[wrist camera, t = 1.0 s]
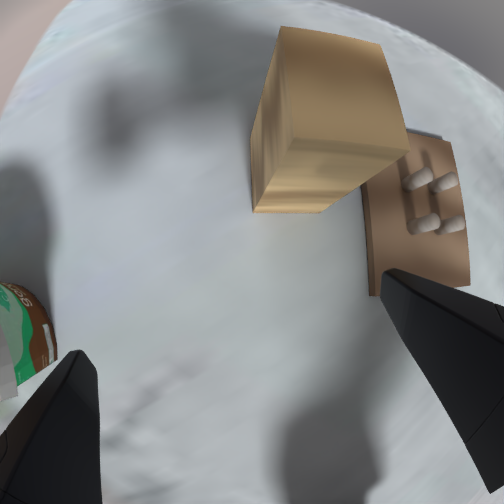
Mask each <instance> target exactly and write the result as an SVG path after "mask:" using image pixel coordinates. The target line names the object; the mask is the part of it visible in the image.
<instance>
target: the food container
mask: <svg viewBox="0 0 504 504" xmlns="http://www.w3.org/2000/svg"><path fill="white" fill-rule="evenodd" d="M56 360H57V343H56V339H55V335H54V331H53V326H52V324H51V322H50V320H49V317H48V315H47V313H46V311H45V309H44V307H43V306H42V305H41V303H40V302H39V301H38V300H37V298H36V297H35V296H34V295H33V294H32V293H31V292H29V291H28V290H27V289H25V288H24V287H21V286H19V285H15V284H10V283H4V282H0V401H3V400H7V399H10V398H13V397H16V396H18V391H17V386H19V385H20V384H22V383H23V382H25V381H26V380H28V379H29V378H31V377H32V376H34V375H35V374H37V373H38V372H40V371H41V370H43V369H44V368H46V367H47V366H49V365H50V364H52V363H53V362H55V361H56Z"/></svg>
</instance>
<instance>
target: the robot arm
mask: <svg viewBox="0 0 504 504" xmlns="http://www.w3.org/2000/svg"><path fill="white" fill-rule="evenodd" d="M380 298H381V301H382V303H383V305H384V306H385V308H386V310H387V312H388V314H389V316H390V318H391V320H392V322H393V324H394V325H395V327H396V329H397V331H398V333H399V335H400V337H401V339H402V340H403V342H404V344H405V345H406V347H407V348H408V350H409V351H410V353H411V355H412V356H413V358H414V359H415V361H416V362H417V364H418V366H419V367H420V369H421V370H422V372H423V373H424V375H425V377H426V378H427V380H428V382H429V383H430V385H431V386H432V388H433V390H434V391H435V393H436V395H437V396H438V398H439V400H440V401H441V403H442V405H443V407H444V408H445V410H446V412H447V413H448V415H449V417H450V419H451V420H452V422H453V424H454V426H455V428H456V429H457V431H458V433H459V435H460V437H461V438H462V440H463V442H464V444H465V446H466V448H467V450H468V452H469V454H470V456H471V458H472V459H473V461H474V463H475V465H476V467H477V469H478V471H479V473H480V475H481V477H482V479H483V481H484V483H485V486H486V488H487V490H488V491H489V493H490V494H491V493H493V492H494V491H496V490H497V489H499V488H500V487H502V486H503V485H504V306H501V305H498V304H494V303H493V302H490V301H488V300H485V299H482V298H479V297H477V296H474V295H471V294H469V293H466V292H463V291H460V290H457V289H455V288H452V287H449V286H446V285H444V284H441V283H438V282H435V281H432V280H429V279H426V278H424V277H421V276H418V275H415V274H412V273H409V272H406V271H403V270H400V269H398V268H391V269H388V270H385V271H383V273H382V275H381V286H380ZM0 504H102V492H101V475H100V413H99V398H98V377H97V371H96V368H95V367H94V365H93V364H92V362H91V361H90V360H89V358H88V357H87V355H86V354H85V353H84V351H82V350H74V351H70V352H69V353H68V354H67V355H66V356H65V357H64V358H63V360H62V361H61V362H60V363H59V364H58V365H57V366H56V368H55V369H54V370H53V371H52V372H51V373H50V375H49V376H48V377H47V378H46V379H45V381H44V382H43V383H42V384H41V385H40V387H39V388H38V389H37V390H36V391H35V393H34V394H33V395H32V396H31V397H30V399H29V400H28V401H27V402H26V404H25V405H24V406H23V407H22V409H21V410H20V411H19V412H18V414H17V415H16V416H15V418H14V419H13V420H12V421H11V423H10V424H9V425H8V427H7V428H6V430H4V432H3V433H2V434H1V436H0Z"/></svg>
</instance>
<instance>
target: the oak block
mask: <svg viewBox="0 0 504 504" xmlns="http://www.w3.org/2000/svg"><path fill="white" fill-rule="evenodd" d="M250 147H251V176H252V204H253V213H320V212H322V211H323V210H325V209H326V208H328V207H329V206H331V205H332V204H333V203H335V202H336V201H338V200H339V199H341V198H342V197H344V196H345V195H347V194H348V193H350V192H351V191H353V190H354V189H356V188H357V187H358V186H360V185H361V184H363V183H364V182H366V181H367V180H369V179H370V178H372V177H373V176H375V175H376V174H378V173H379V172H380V171H382V170H383V169H385V168H386V167H388V166H389V165H391V164H392V163H394V162H395V161H397V160H398V159H399V158H401V157H402V156H404V155H405V154H407V153H408V152H410V151H411V149H410V145H409V140H408V136H407V131H406V127H405V123H404V119H403V115H402V111H401V108H400V104H399V101H398V97H397V94H396V90H395V87H394V84H393V80H392V77H391V74H390V71H389V68H388V65H387V62H386V59H385V57H384V54H383V51H382V48H381V46H380V45H379V44H375V43H371V42H367V41H363V40H359V39H355V38H351V37H346V36H341V35H336V34H331V33H326V32H320V31H314V30H308V29H301V28H293V27H285V26H281V28H280V31H279V35H278V38H277V41H276V45H275V48H274V52H273V55H272V59H271V63H270V66H269V70H268V73H267V77H266V80H265V84H264V88H263V91H262V95H261V99H260V103H259V106H258V110H257V114H256V118H255V121H254V125H253V129H252V133H251V137H250Z"/></svg>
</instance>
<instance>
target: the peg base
mask: <svg viewBox="0 0 504 504" xmlns="http://www.w3.org/2000/svg"><path fill="white" fill-rule="evenodd" d="M407 136H408V140H409V145H410V149H411V151H410V152H408V153H407V154H405V155H404V156H402V157H401V158H399V159H398V160H397V161H395V162H394V163H392V164H391V165H389V166H388V167H386V168H385V169H383V170H382V171H380V172H379V173H378V174H376V175H375V176H373V177H372V178H370V179H369V180H367V181H366V182H364V183H363V184H361V189H362V197H363V206H364V216H365V227H366V240H367V254H368V272H369V296H380V286H381V275H382V273H383V271H385V270H388V269H391V268H398V269H400V270H403V271H406V272H409V273H412V274H415V275H418V276H421V277H424V278H426V279H429V280H432V281H435V282H438V283H441V284H444V285H446V286H449V287H452V288H455V287H462V286H469V285H470V263H469V249H468V238H467V229H466V221H465V213H464V206H463V200H462V194H461V188H460V183H459V178H458V173H457V168H456V163H455V159H454V155H453V150H452V146H451V142H448V141H444V140H440V139H436V138H432V137H427V136H423V135H418V134H414V133H409V132H407Z"/></svg>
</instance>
